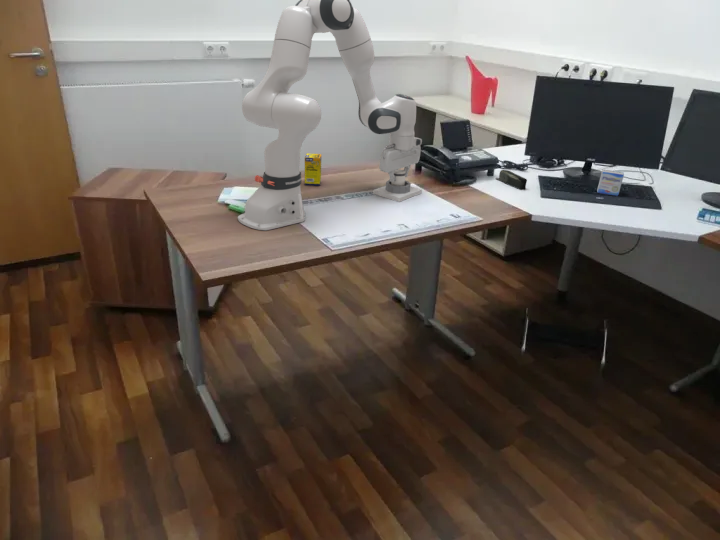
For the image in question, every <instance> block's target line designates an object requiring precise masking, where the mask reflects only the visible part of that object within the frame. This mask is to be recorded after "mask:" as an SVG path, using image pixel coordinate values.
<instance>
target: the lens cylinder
mask: <svg viewBox="0 0 720 540" xmlns="http://www.w3.org/2000/svg"><path fill="white" fill-rule="evenodd" d="M405 175H406V171H404V169H401V168H400V169H397V170H395V173H394V176H395V177H396V181H394V182H391V185H393V186H405V181H406V177H405Z"/></svg>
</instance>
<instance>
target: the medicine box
mask: <svg viewBox="0 0 720 540" xmlns="http://www.w3.org/2000/svg"><path fill="white" fill-rule="evenodd" d="M600 173H601V174H600V178H599V181H598V186H597V189H596V191H597V192H596V193H597V194H602V195H609V196H615V197H618V196H619V194H620V191H621V187H622V183H623V180H624V177H625V174H624V171H623V172H622V171H617V170H616V171H615V170H611V169H602V170H601V172H600Z"/></svg>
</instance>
